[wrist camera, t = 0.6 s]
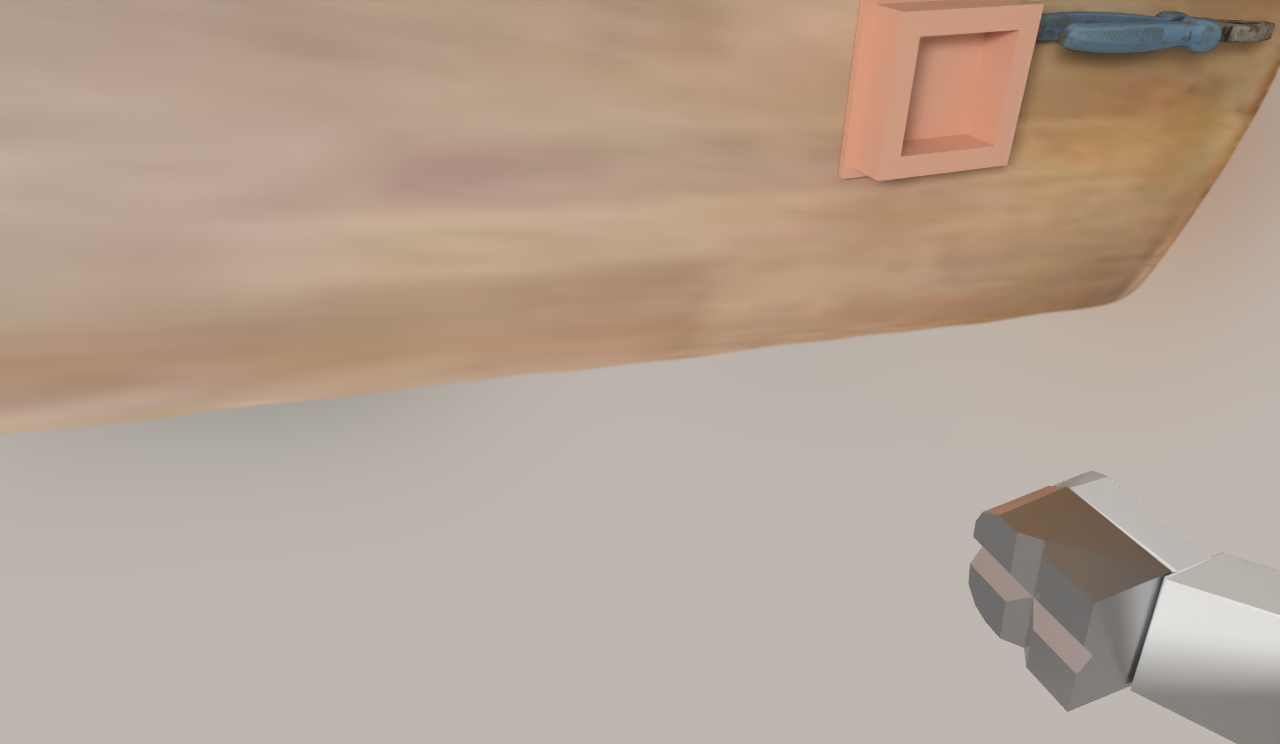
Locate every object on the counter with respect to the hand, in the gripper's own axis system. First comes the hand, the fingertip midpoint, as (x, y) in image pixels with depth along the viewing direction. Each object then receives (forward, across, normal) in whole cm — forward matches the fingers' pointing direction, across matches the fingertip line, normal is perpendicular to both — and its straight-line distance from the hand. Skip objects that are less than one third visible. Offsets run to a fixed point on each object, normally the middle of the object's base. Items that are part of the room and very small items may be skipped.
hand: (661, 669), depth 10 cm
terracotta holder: (+45, -36, +12) cm, 59 cm away
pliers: (+46, -53, +11) cm, 71 cm away
